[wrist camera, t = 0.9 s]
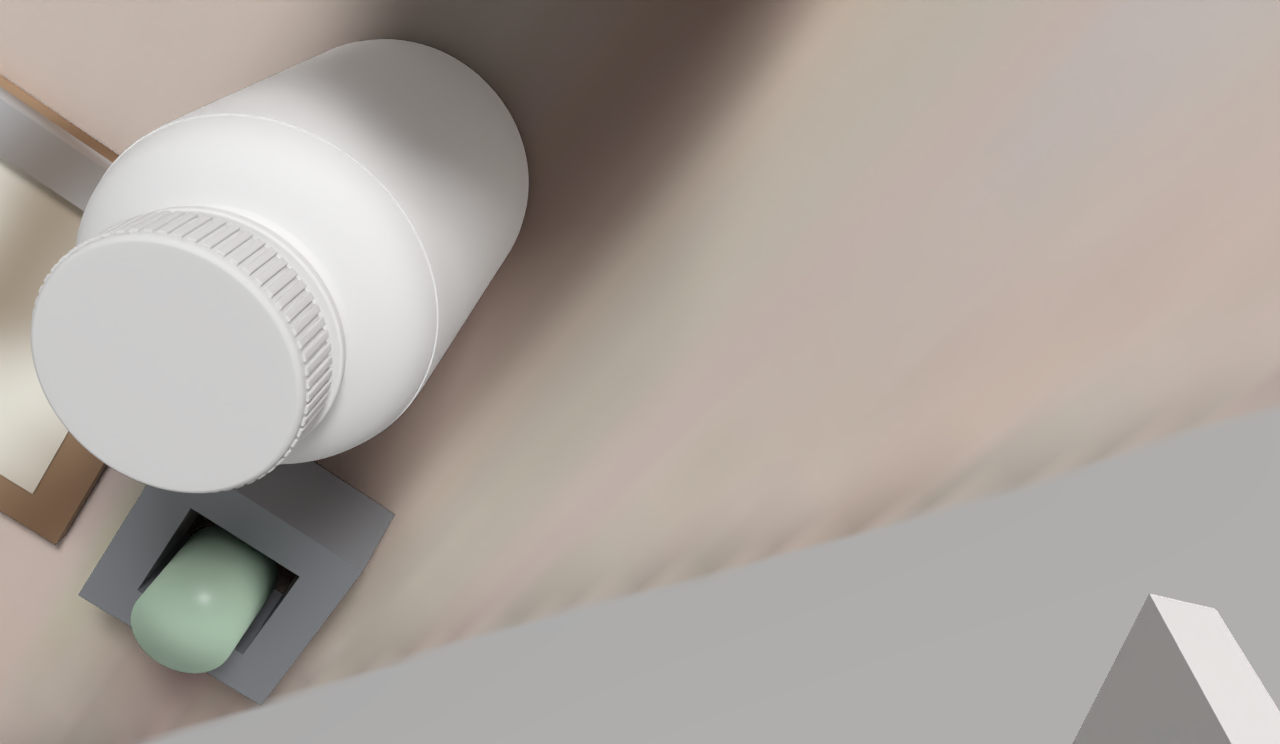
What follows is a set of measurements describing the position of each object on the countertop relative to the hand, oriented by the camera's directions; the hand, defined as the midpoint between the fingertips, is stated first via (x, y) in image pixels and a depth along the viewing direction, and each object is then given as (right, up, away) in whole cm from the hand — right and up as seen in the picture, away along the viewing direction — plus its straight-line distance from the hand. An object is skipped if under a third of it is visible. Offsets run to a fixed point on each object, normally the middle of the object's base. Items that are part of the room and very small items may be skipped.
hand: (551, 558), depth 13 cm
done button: (-13, -4, +25) cm, 28 cm away
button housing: (-12, -3, +27) cm, 30 cm away
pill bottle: (-6, +8, +22) cm, 24 cm away
